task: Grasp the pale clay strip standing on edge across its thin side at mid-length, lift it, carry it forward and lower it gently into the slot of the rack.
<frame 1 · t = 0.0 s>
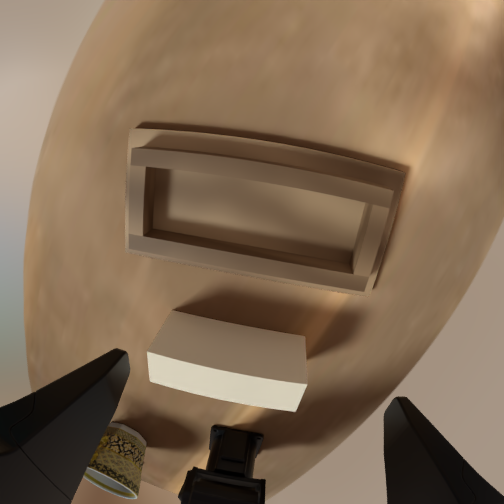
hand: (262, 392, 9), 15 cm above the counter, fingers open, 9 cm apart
clay strip: (235, 338, 26), on the counter
rack: (255, 209, 21), on the counter
ceramic cup: (122, 428, 36), on the counter
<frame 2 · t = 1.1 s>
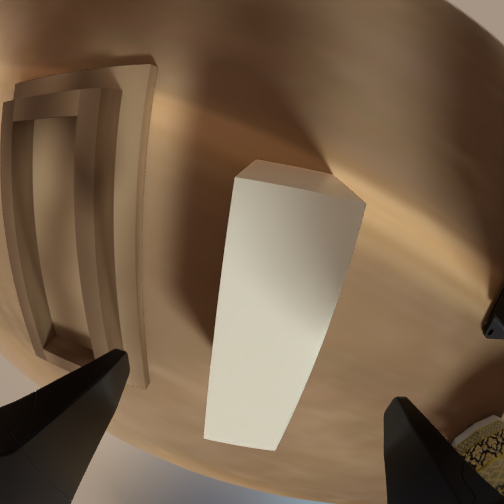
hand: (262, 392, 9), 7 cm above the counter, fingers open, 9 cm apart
clay strip: (271, 283, 15), on the counter
rack: (71, 243, 16), on the counter
ceramic cup: (464, 437, 20), on the counter
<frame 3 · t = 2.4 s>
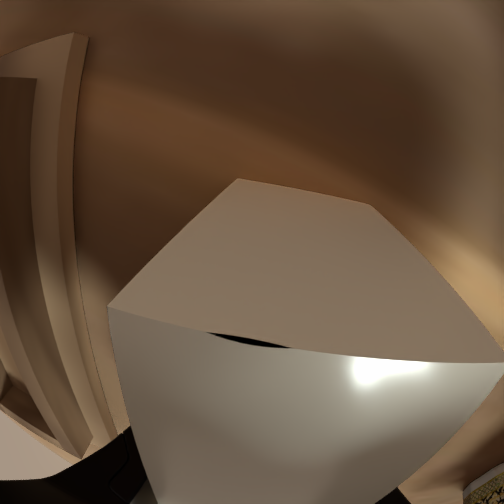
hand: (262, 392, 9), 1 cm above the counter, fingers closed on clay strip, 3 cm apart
clay strip: (265, 366, 10), on the counter, touching gripper
rack: (8, 288, 10), on the counter
ceramic cup: (480, 479, 15), on the counter
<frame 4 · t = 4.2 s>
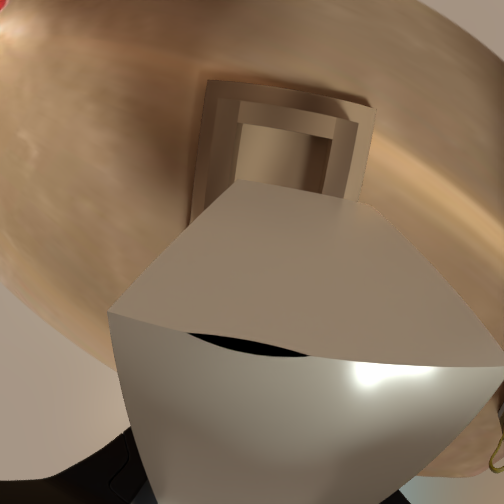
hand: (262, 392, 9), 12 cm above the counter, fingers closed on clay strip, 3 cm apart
clay strip: (265, 367, 10), point 11 cm above the counter, touching gripper
rack: (265, 245, 20), on the counter
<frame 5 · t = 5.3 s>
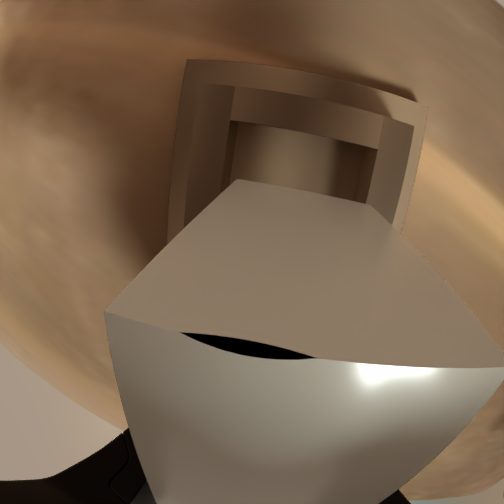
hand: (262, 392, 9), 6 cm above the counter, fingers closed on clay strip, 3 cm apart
clay strip: (265, 367, 10), point 5 cm above the counter, touching gripper
rack: (270, 292, 14), on the counter
when the fingers open (3 cm above the counter, at t = 6.1 s): clay strip drops 1 cm, resting on rack.
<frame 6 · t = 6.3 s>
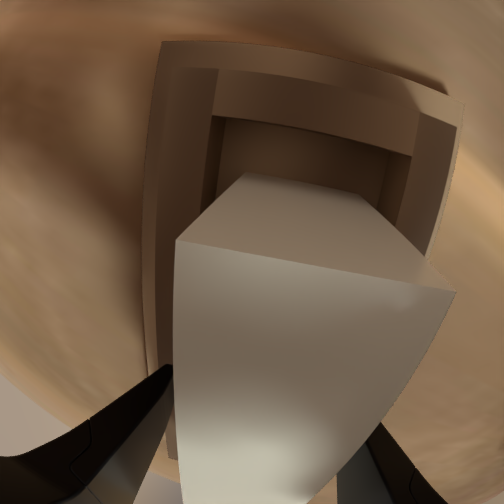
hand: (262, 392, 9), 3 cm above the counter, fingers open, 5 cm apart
clay strip: (268, 341, 11), point 1 cm above the counter, touching rack
rack: (268, 327, 12), on the counter
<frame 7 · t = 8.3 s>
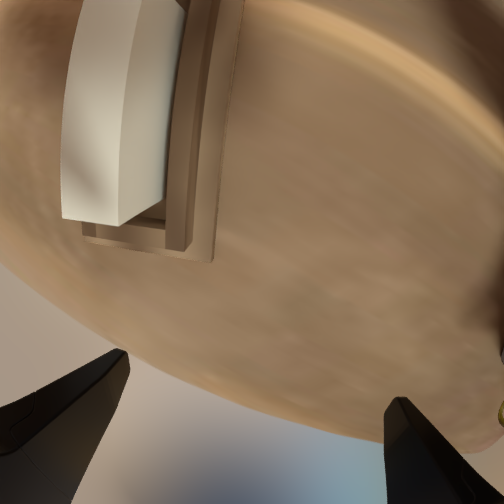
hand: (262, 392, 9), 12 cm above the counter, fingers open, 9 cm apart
clay strip: (147, 101, 16), point 1 cm above the counter, touching rack
rack: (152, 102, 16), on the counter
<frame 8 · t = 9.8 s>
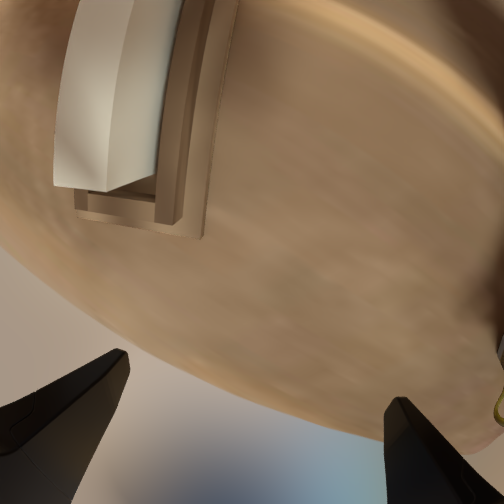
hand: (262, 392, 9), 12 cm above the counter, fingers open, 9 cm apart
clay strip: (144, 79, 15), point 1 cm above the counter, touching rack
rack: (149, 80, 16), on the counter
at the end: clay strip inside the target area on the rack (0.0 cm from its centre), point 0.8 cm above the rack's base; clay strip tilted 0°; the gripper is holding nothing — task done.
